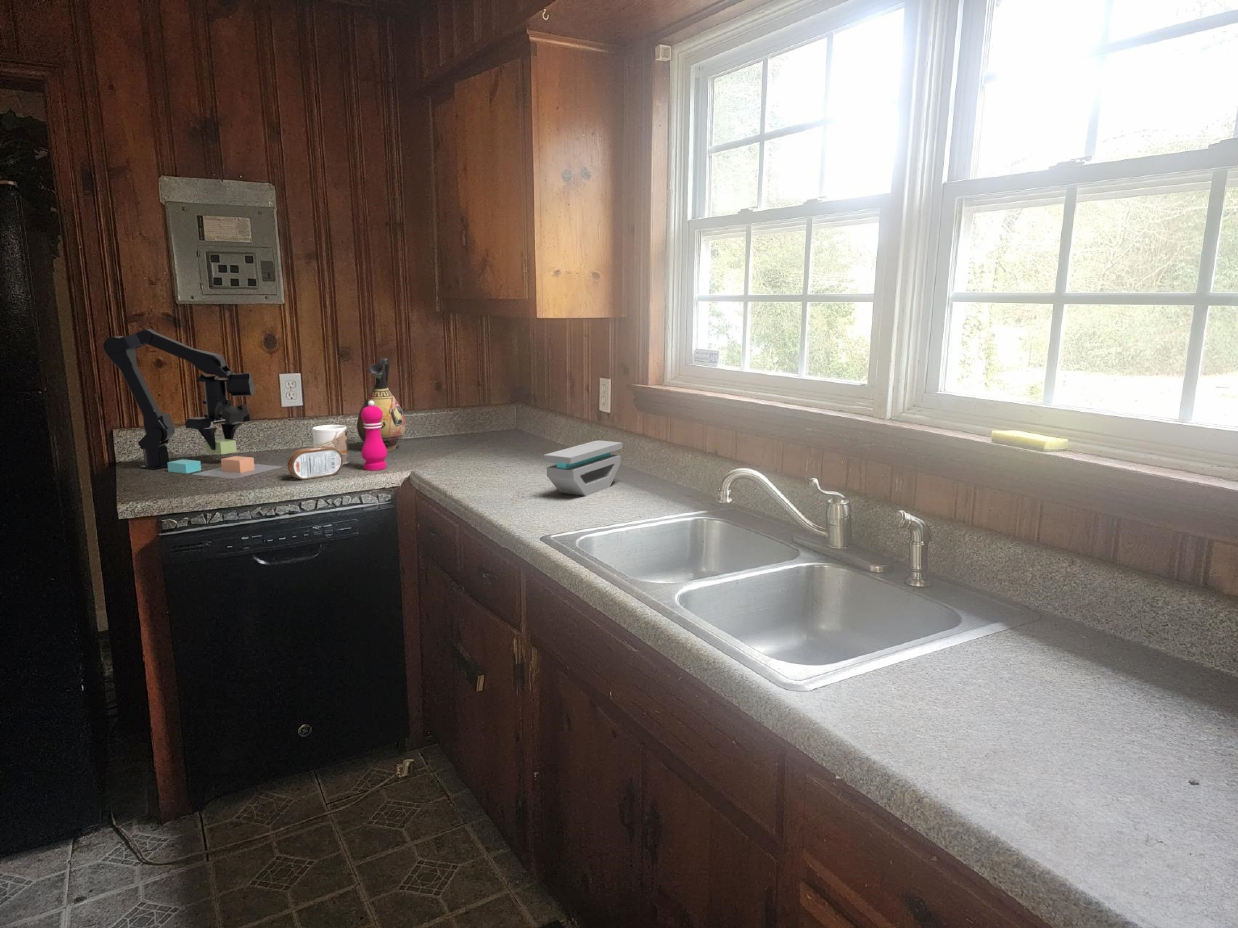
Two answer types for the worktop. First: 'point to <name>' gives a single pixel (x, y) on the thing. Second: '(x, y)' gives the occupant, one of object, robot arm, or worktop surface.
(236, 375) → the robot arm
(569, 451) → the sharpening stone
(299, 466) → the tin
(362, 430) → the ceramic jug
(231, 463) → the terracotta brick
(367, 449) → the pepper mill
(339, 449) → the mug
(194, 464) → the teal brick
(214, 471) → the baseplate
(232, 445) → the olive brick
